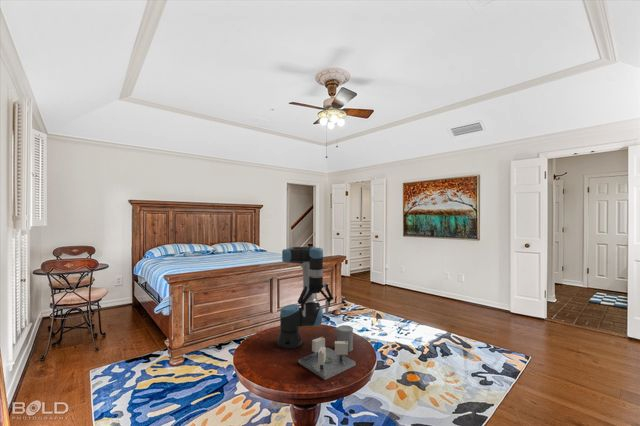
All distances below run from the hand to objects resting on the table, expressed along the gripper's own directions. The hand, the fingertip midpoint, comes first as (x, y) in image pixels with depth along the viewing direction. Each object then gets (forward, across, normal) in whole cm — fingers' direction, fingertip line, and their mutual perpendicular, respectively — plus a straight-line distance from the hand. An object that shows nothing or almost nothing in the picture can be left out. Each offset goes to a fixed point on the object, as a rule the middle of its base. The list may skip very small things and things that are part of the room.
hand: (315, 314), depth 168 cm
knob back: (+24, +2, 0) cm, 24 cm away
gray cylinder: (+27, +22, +7) cm, 36 cm away
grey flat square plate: (+26, +4, -6) cm, 27 cm away
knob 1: (+24, -1, -12) cm, 26 cm away
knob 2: (+24, +12, -8) cm, 28 cm away
